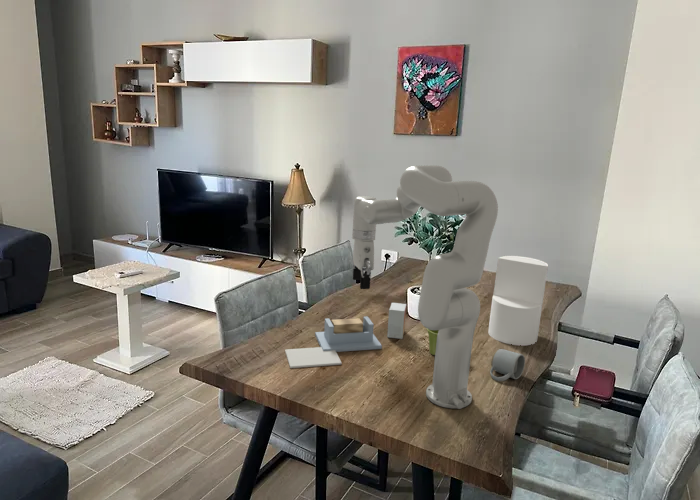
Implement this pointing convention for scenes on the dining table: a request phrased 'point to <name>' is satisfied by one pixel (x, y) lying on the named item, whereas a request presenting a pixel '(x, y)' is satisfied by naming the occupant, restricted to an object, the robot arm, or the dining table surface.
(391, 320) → the small box
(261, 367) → the dining table surface
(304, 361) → the mat
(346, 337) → the jig
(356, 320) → the oak block
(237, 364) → the dining table surface
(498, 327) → the cylinder
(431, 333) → the plant pot
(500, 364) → the ceramic mug
